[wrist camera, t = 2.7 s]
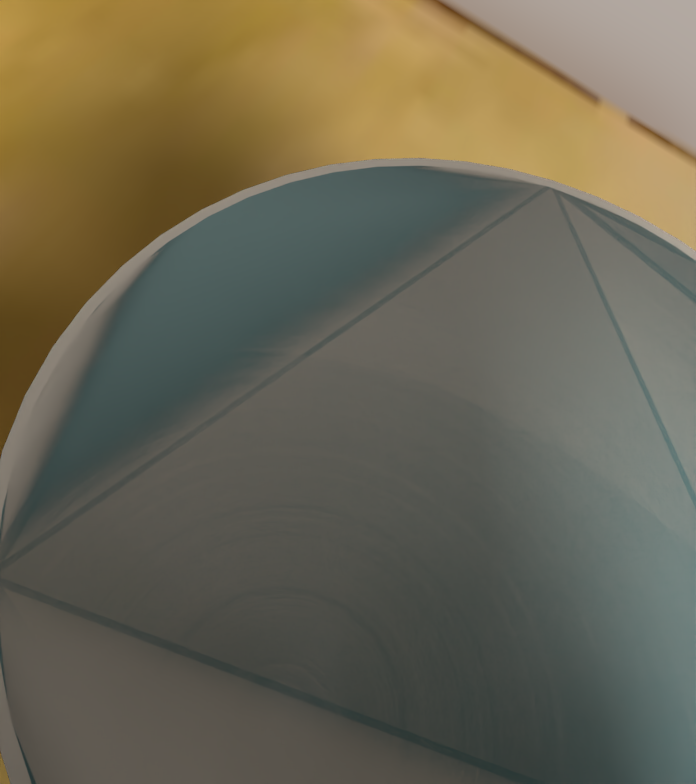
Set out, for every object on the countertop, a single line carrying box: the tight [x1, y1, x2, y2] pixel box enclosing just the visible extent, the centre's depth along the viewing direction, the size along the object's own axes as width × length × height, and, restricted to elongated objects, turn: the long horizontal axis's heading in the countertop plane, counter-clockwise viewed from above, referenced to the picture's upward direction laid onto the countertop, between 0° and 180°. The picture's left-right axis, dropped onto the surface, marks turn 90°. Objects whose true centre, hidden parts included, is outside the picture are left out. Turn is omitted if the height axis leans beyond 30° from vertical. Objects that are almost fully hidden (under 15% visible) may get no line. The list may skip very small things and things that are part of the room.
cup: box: [0, 158, 696, 784], centre depth 10 cm, size 7×7×12 cm
